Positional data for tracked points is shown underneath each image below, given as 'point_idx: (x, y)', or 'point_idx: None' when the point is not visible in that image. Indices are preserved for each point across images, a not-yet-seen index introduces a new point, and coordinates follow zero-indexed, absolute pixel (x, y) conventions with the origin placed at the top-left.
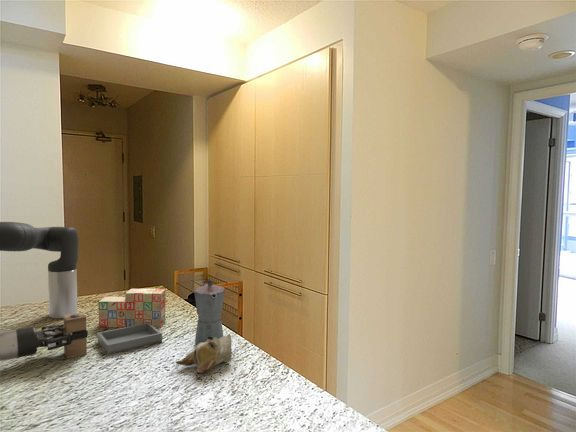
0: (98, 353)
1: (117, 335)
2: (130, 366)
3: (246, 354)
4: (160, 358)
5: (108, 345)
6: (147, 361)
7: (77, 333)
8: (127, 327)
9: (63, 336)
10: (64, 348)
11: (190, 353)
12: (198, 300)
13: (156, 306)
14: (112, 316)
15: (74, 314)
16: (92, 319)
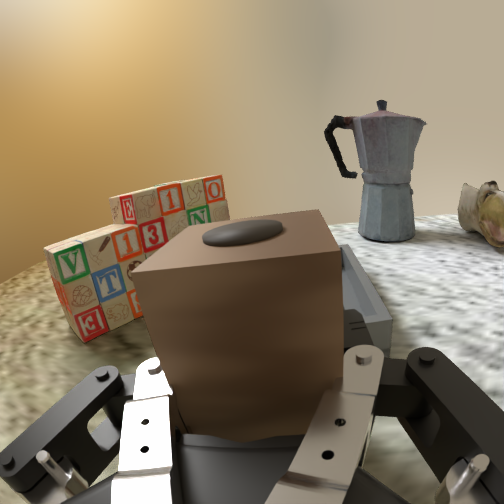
0: None
1: None
2: (492, 309)
3: (452, 220)
4: (451, 273)
5: (390, 318)
6: (465, 287)
7: (357, 337)
8: None
9: (445, 387)
10: None
11: (485, 226)
12: (398, 135)
13: (219, 213)
14: (112, 290)
15: (187, 239)
16: (26, 338)
